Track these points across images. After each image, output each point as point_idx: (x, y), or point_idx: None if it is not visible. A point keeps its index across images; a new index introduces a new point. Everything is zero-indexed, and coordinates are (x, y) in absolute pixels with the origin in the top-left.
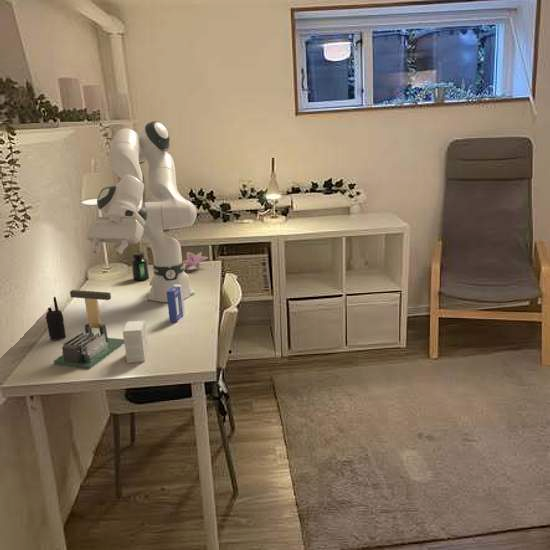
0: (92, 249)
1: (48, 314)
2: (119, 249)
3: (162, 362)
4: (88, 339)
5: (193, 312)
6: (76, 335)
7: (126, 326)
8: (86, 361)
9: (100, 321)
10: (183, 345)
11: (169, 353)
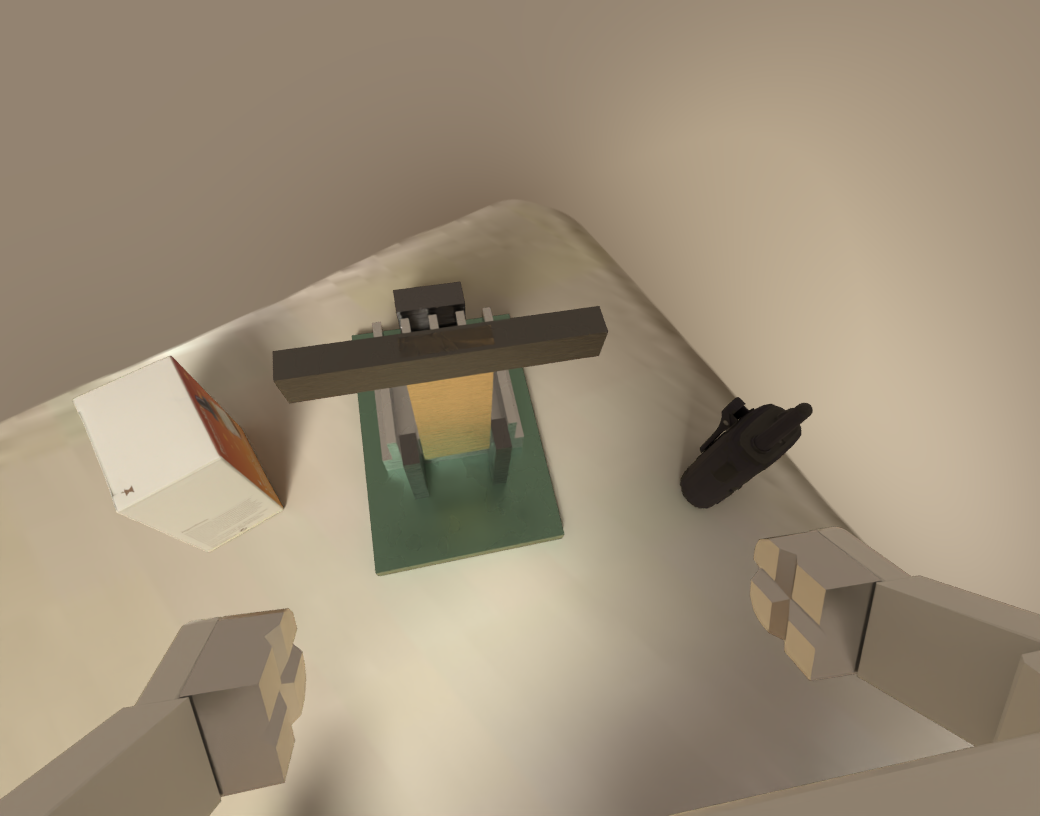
0: (845, 532)
1: (763, 406)
2: (172, 650)
3: (81, 487)
4: None
5: None
6: (503, 382)
7: (183, 404)
8: None
9: (422, 446)
10: (44, 686)
11: (86, 573)
